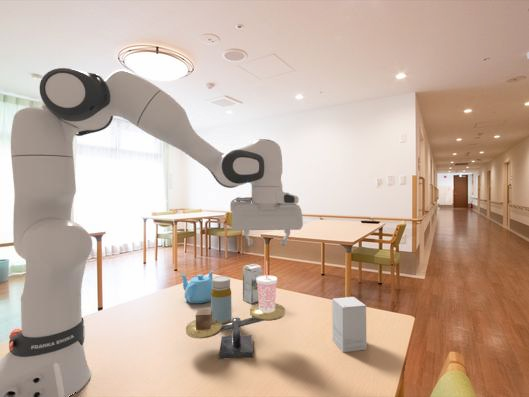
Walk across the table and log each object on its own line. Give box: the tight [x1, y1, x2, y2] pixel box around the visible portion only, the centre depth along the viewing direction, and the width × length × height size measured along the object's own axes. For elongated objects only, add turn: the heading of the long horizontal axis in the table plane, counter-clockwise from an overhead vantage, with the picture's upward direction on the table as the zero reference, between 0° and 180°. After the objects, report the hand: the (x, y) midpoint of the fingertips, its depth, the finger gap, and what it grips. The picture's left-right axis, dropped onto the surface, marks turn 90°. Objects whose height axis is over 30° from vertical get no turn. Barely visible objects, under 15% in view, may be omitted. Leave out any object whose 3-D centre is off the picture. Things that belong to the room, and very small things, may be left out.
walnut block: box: [195, 308, 212, 330], centre depth 79 cm, size 4×4×4 cm
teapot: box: [180, 269, 214, 304], centre depth 118 cm, size 15×15×10 cm
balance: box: [185, 302, 286, 360], centre depth 79 cm, size 28×10×11 cm, turn 95°
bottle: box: [210, 275, 233, 325], centre depth 96 cm, size 7×7×15 cm
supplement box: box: [331, 296, 367, 353], centre depth 81 cm, size 7×7×13 cm
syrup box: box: [242, 263, 263, 305], centre depth 115 cm, size 6×6×14 cm
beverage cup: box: [256, 260, 278, 313], centre depth 80 cm, size 6×6×14 cm
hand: (267, 245), depth 80 cm, fingers open, 8 cm apart
